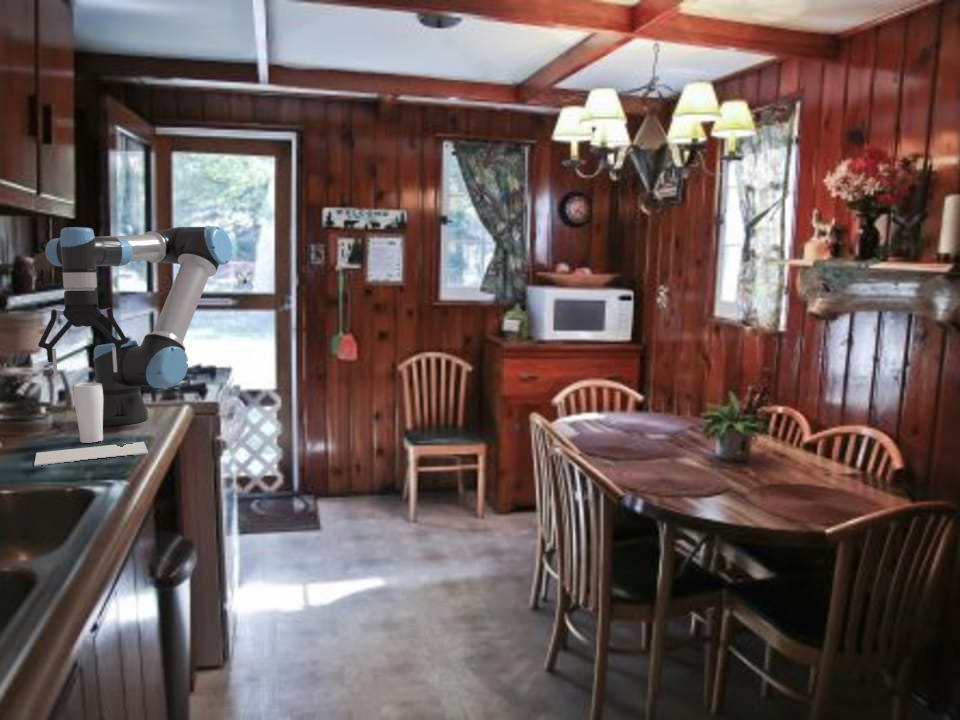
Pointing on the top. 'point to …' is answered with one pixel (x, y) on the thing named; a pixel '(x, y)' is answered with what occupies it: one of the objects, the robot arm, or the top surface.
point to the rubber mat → (89, 453)
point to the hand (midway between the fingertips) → (86, 373)
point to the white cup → (89, 411)
